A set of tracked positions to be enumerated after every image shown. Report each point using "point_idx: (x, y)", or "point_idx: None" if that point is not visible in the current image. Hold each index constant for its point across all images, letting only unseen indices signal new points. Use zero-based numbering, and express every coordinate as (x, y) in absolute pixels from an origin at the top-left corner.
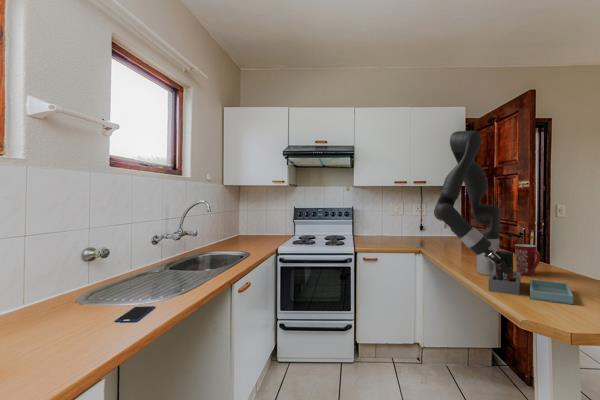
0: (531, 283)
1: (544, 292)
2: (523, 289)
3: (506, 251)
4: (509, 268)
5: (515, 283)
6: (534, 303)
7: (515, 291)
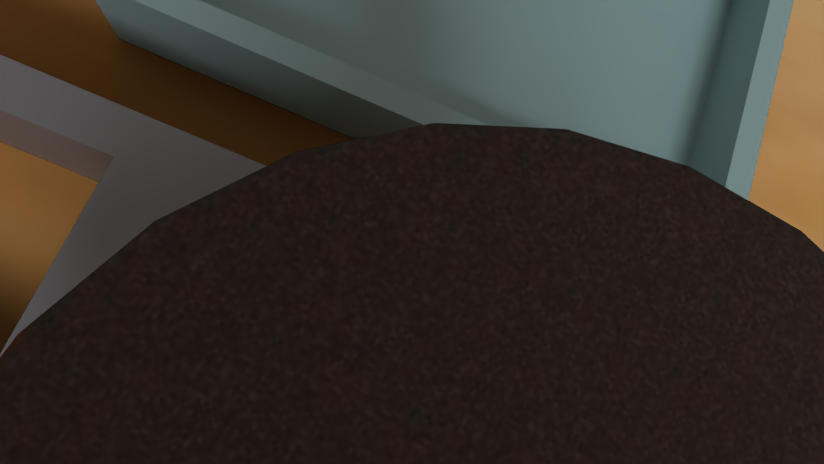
0: (351, 78)
1: (757, 134)
2: None
3: (2, 363)
4: None
5: None
6: None
7: None
